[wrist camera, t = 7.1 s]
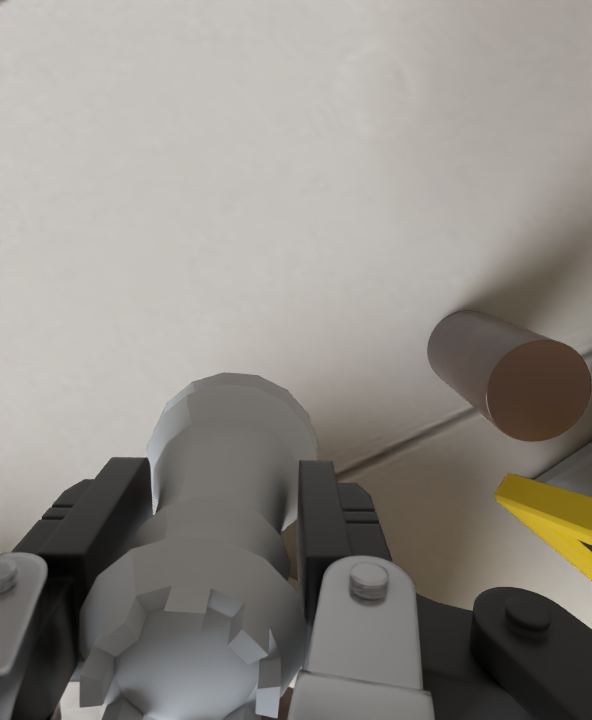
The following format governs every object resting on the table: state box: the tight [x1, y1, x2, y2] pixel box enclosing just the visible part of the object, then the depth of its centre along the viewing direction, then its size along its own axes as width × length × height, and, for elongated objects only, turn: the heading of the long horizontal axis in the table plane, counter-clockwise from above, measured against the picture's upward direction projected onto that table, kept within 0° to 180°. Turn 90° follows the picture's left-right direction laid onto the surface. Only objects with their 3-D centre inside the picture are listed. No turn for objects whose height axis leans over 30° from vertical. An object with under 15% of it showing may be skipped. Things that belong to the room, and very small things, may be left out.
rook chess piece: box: [79, 372, 318, 720], centre depth 10 cm, size 4×4×8 cm
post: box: [428, 311, 591, 442], centre depth 23 cm, size 4×4×8 cm
